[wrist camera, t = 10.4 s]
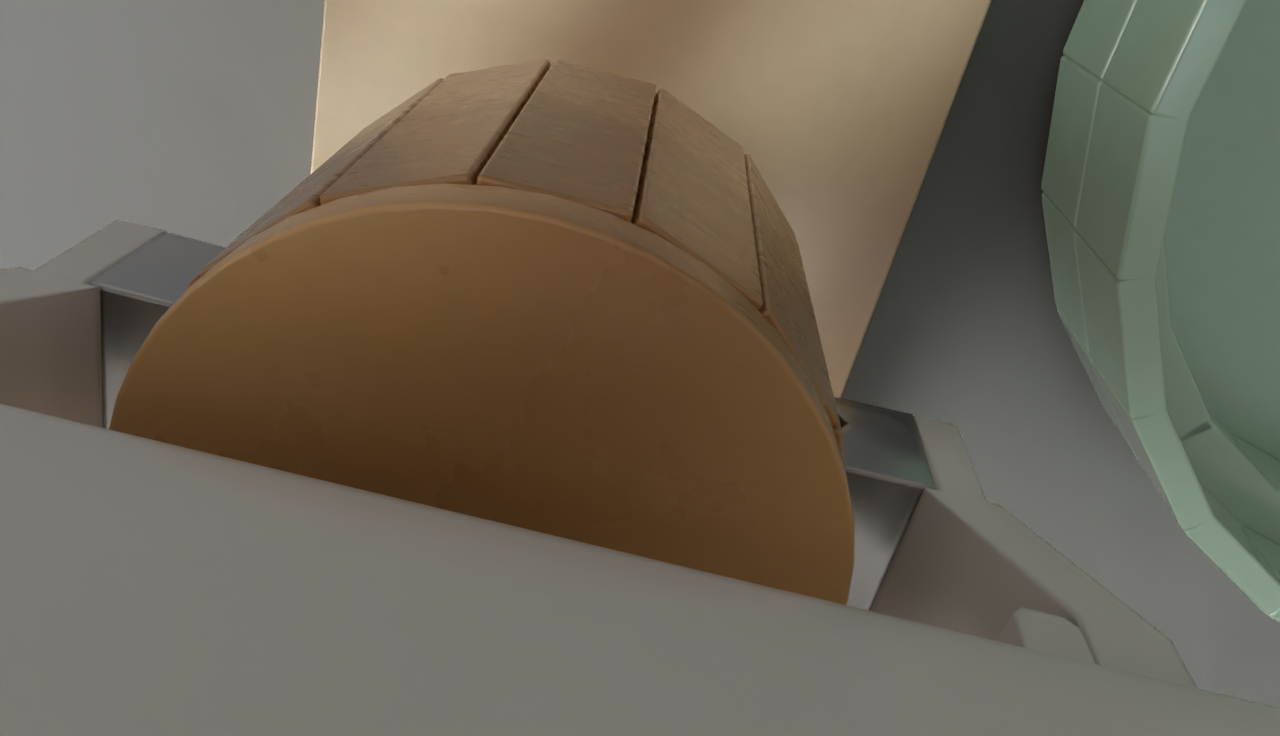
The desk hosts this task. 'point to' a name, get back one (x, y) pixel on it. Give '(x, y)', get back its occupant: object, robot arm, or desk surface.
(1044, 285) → the desk surface
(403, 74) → the ball stand
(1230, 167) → the bowl
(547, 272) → the wood cap
